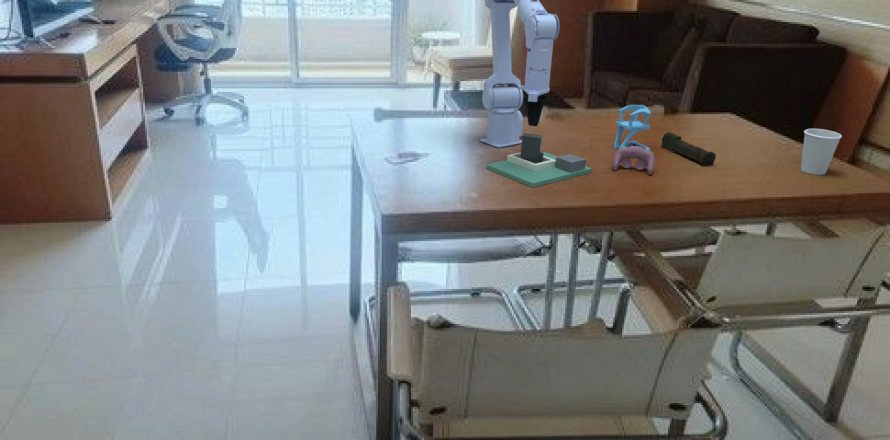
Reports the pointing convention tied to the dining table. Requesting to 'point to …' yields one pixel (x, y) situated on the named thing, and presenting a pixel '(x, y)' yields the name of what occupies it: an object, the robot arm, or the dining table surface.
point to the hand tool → (687, 149)
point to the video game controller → (634, 152)
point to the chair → (631, 125)
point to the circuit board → (540, 168)
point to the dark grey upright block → (531, 148)
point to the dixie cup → (818, 150)
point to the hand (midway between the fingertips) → (533, 125)
